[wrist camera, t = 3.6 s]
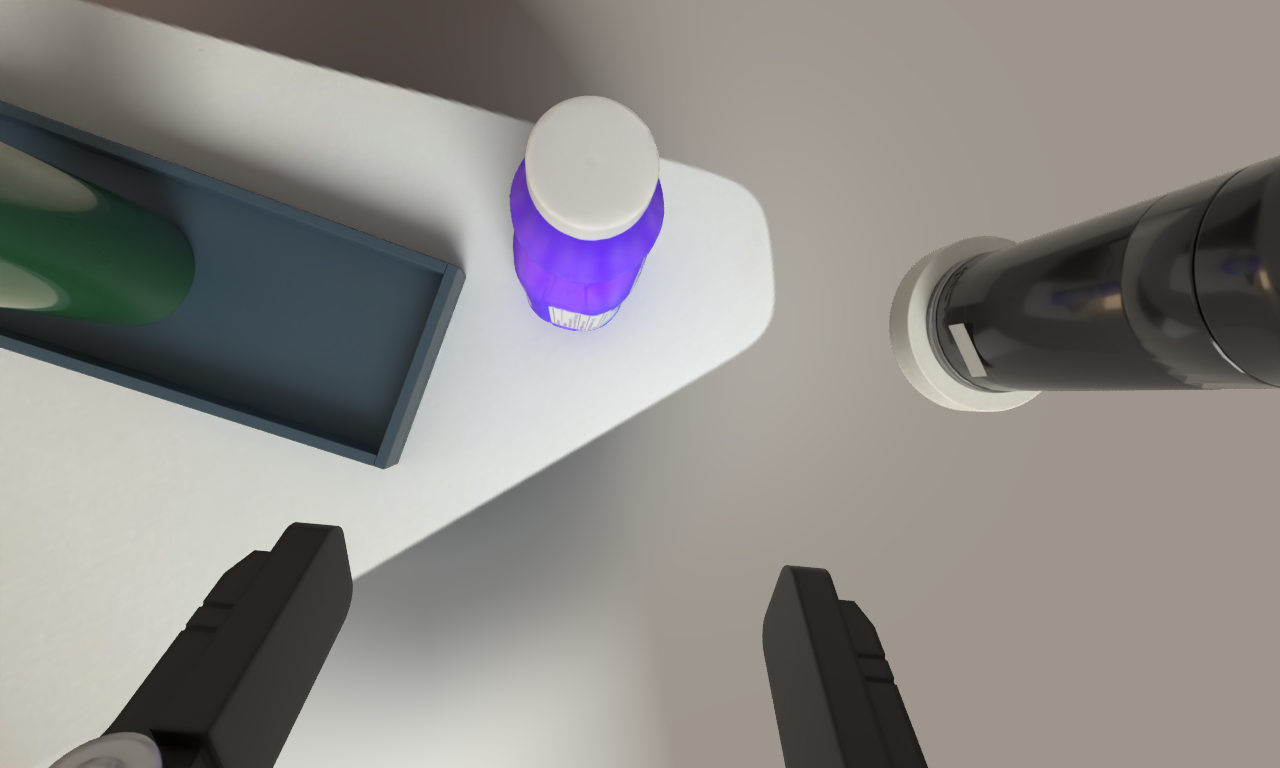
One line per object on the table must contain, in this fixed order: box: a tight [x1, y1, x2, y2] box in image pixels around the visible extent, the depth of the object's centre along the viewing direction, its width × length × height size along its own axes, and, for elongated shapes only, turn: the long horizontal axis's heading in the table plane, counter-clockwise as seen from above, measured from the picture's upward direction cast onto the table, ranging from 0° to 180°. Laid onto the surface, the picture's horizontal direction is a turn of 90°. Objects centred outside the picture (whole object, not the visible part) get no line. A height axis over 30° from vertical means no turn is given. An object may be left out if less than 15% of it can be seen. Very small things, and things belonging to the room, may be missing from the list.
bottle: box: [510, 95, 664, 331], centre depth 27 cm, size 7×6×17 cm
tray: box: [0, 101, 466, 469], centre depth 31 cm, size 32×11×3 cm, turn 71°
